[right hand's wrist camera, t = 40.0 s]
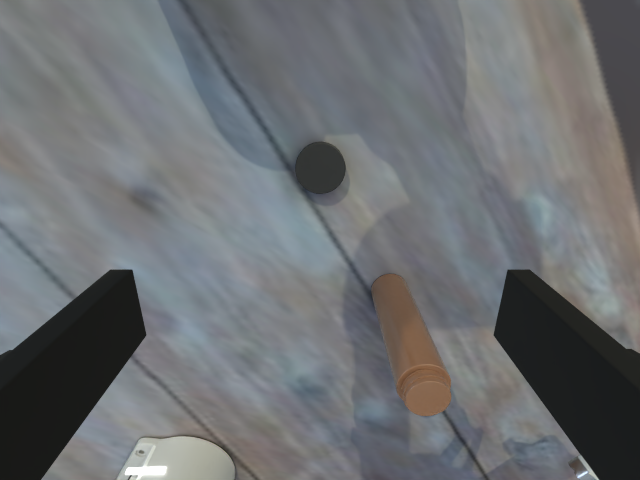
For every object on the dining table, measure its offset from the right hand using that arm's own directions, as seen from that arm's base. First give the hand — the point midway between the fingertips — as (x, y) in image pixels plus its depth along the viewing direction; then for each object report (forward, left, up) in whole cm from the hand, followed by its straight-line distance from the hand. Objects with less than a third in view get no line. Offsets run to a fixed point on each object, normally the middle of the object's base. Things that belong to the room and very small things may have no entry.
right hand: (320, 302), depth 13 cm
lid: (0, 0, -28) cm, 28 cm away
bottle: (+9, +16, -29) cm, 34 cm away
